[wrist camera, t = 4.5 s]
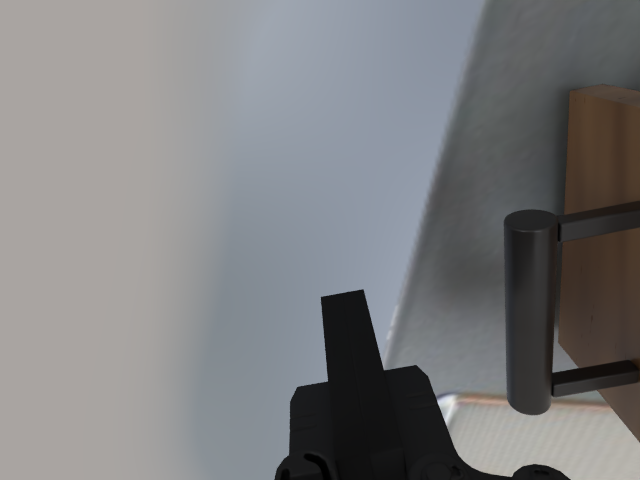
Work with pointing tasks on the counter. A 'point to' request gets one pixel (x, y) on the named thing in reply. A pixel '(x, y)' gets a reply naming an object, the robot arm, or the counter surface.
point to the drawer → (581, 267)
